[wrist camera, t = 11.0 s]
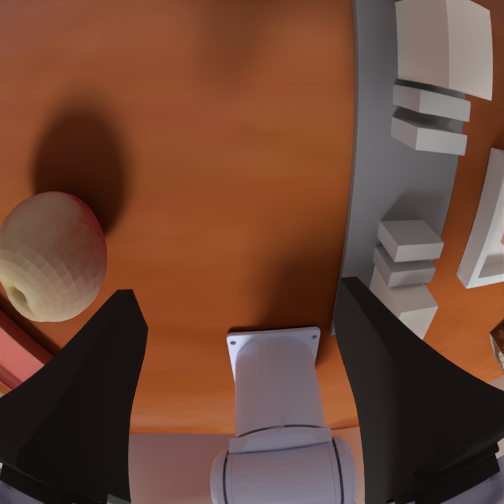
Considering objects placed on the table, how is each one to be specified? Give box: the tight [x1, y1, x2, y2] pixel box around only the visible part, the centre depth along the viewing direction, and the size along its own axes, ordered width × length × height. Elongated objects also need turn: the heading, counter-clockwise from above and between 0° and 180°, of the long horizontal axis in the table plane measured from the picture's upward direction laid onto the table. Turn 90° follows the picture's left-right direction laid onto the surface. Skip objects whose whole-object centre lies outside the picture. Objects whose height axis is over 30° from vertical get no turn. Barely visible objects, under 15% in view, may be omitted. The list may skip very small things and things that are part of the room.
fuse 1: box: [369, 266, 438, 339], centre depth 20 cm, size 5×3×5 cm, turn 3°
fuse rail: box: [330, 0, 471, 335], centre depth 16 cm, size 28×8×4 cm, turn 3°
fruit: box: [0, 191, 107, 322], centre depth 15 cm, size 8×8×8 cm
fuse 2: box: [395, 0, 493, 100], centre depth 10 cm, size 5×3×5 cm, turn 3°
